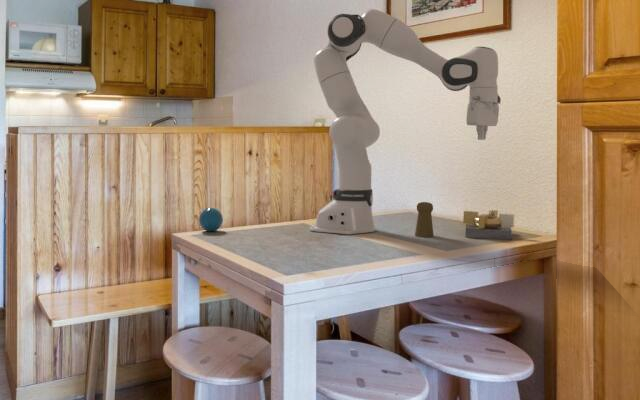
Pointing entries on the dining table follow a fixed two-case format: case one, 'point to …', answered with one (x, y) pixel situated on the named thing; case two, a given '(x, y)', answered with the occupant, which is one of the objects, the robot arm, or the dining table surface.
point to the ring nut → (489, 219)
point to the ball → (210, 219)
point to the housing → (488, 232)
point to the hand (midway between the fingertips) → (481, 139)
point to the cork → (424, 220)
